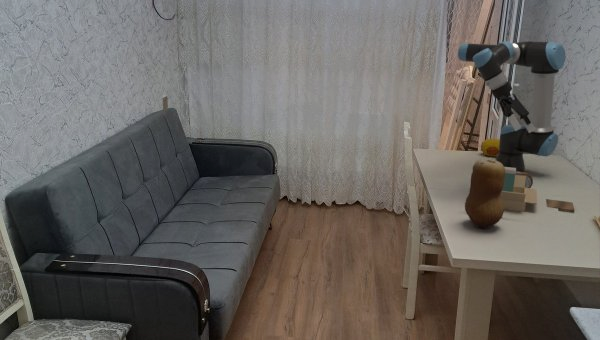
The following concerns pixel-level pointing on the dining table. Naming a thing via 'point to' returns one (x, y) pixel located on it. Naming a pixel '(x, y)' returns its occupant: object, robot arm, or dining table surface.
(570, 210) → the walnut board
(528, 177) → the tin
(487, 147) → the lantern
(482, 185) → the butternut squash
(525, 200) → the carton
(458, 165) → the dining table surface
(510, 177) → the teal box
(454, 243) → the dining table surface
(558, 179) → the dining table surface
